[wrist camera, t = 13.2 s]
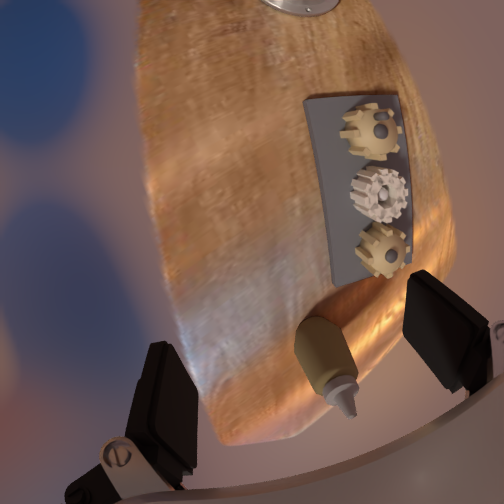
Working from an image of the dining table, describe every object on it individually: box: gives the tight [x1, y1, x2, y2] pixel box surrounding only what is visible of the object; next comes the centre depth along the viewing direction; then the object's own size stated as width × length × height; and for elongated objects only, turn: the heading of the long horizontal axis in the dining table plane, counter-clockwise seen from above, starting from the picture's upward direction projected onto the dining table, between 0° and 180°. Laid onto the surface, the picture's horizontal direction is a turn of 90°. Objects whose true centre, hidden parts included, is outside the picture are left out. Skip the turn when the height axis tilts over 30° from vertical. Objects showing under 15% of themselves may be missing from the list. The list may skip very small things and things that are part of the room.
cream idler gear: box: [350, 166, 408, 223], centre depth 32 cm, size 7×7×4 cm
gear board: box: [303, 95, 412, 287], centre depth 31 cm, size 26×14×8 cm, turn 13°
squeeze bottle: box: [294, 316, 359, 419], centre depth 34 cm, size 8×8×18 cm
